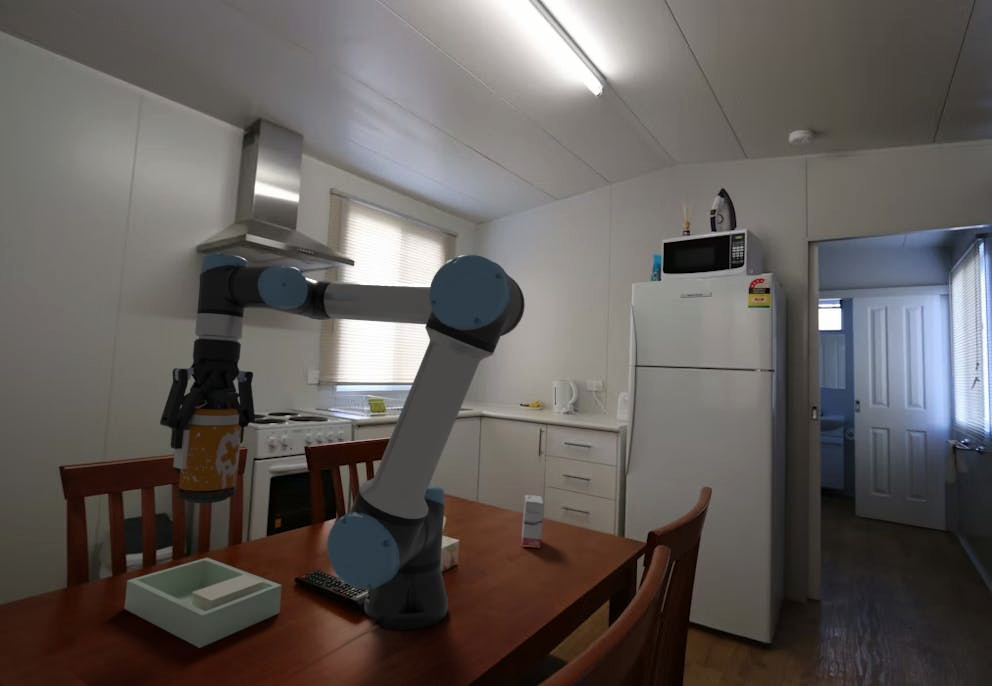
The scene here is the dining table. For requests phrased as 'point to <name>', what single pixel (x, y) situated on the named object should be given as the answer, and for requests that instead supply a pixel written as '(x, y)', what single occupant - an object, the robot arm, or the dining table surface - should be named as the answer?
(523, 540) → the ink box
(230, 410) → the canister
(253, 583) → the white plastic bar
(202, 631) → the crate
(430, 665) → the dining table surface
